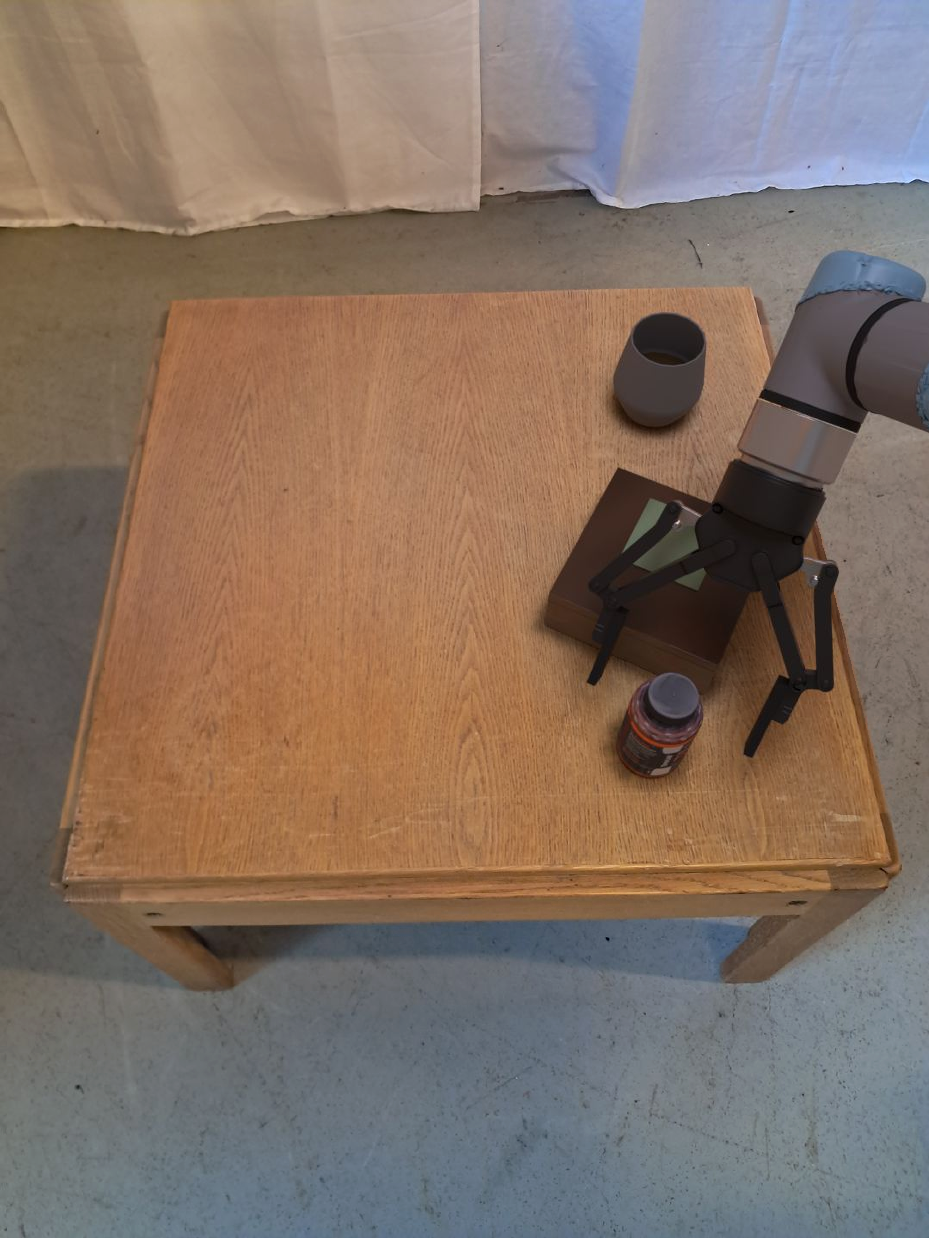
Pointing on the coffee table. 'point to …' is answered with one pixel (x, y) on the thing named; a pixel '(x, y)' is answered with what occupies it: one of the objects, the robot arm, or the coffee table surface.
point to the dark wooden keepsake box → (663, 619)
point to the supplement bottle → (660, 725)
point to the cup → (661, 369)
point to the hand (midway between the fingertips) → (669, 715)
